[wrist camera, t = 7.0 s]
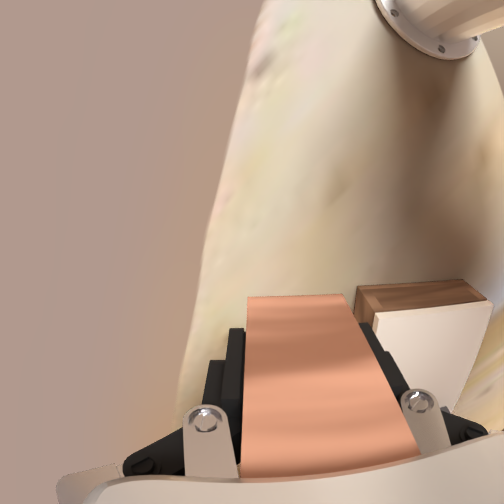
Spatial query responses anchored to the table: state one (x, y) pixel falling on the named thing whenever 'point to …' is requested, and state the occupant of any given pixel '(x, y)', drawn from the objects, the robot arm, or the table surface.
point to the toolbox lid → (435, 345)
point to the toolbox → (411, 297)
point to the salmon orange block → (315, 392)
